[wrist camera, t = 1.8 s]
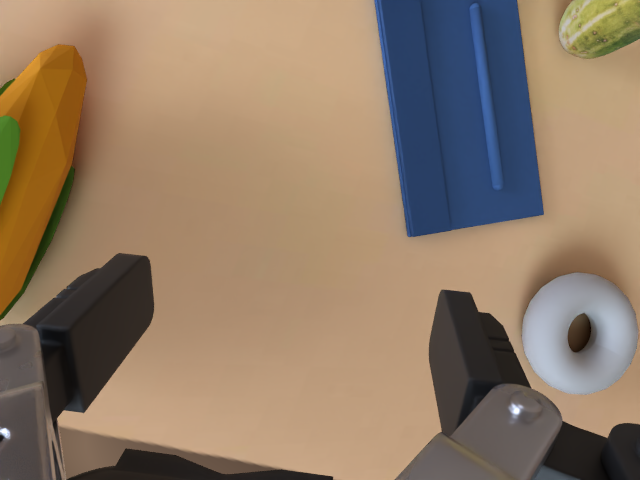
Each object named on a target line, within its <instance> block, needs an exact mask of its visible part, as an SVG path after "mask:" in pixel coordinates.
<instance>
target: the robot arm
mask: <svg viewBox="0 0 640 480" xmlns="http://www.w3.org/2000/svg"><path fill="white" fill-rule="evenodd" d="M153 313H154V298H153V287H152V276H151V265H150V261H149V259H148V257H147V256H141V255H132V254H123V253H118V254H117V255H115V256H114V257H113V258H112V259H111V260H110V261H108V262H107V263H106V264H105V265H104V266H103V267H102V268H100V269H99V268H97V269H94V270H92V271H90V272H88V273H86V274H83V275H81V276H79V277H78V278H77V279H76V280H74V281H73V282H72V283H71V284H70V285H68V286H67V289H64V290H63V291H61V292H60V293H59V294H58V295H57V297H56V298H53V299H52V300H51V301H49V302H48V303H47V304H46V305H45V306H44V307H42V308H41V309H40V310H39V311H38V312H36V313H35V314H34V315H33V316H32V317H31V318H29V319H28V320H27V321H26V322H25V323H23V324H8V325H2V326H0V480H66V474H65V467H64V459H63V452H62V445H61V438H60V431H59V425H58V420H57V418H58V416H59V415H60V414H61V413H62V411H63V410H66V411H74V412H82V413H84V412H85V411H86V410H87V408H88V407H89V406H90V404H91V403H92V402H93V400H94V399H95V398H96V396H97V395H98V394H99V392H100V391H101V390H102V388H103V387H104V386H105V384H106V383H107V382H108V380H109V379H110V378H111V376H112V375H113V374H114V372H115V371H116V370H117V368H118V367H119V366H120V364H121V363H122V362H123V360H124V359H125V358H126V356H127V355H128V354H129V352H130V351H131V350H132V348H133V347H134V346H135V344H136V343H137V342H138V340H139V339H140V338H141V336H142V335H143V334H144V332H145V331H146V329H147V328H148V327H149V325H150V323H151V320H152V317H153ZM429 363H430V368H431V374H432V379H433V385H434V390H435V396H436V401H437V406H438V412H439V417H440V423H441V428H442V432H440V433H438V434H437V435H436V436H435V437H434V438H433V439H432V440H431V441H430V442H429V443H428V444H427V445H426V446H425V447H424V448H423V450H422V451H421V452H420V453H419V454H418V455H417V456H416V457H415V458H414V459H413V460H412V461H411V463H410V464H409V465H408V466H407V467H406V468H405V469H404V470H403V471H402V472H401V473H400V475H399V476H398V477H397V478H396V479H395V480H640V425H639V424H632V423H623V424H619V425H616V426H615V427H614V428H612V430H611V432H610V434H609V436H608V438H606V437H603V436H600V435H597V434H594V433H592V432H589V431H586V430H583V429H580V428H577V427H575V426H572V425H570V424H568V423H566V422H564V421H562V416H561V413H560V411H559V410H558V408H557V407H556V406H555V404H554V403H553V402H552V401H551V400H549V399H548V398H547V397H546V396H544V395H543V394H541V393H539V392H538V391H536V390H534V389H531V386H530V384H529V382H528V380H527V378H526V376H525V373H524V371H523V369H522V367H521V365H520V362H519V360H518V358H517V356H516V354H515V353H514V349H513V347H512V345H511V343H510V342H509V338H508V336H507V334H506V332H505V329H504V327H503V325H502V324H500V323H499V322H498V321H497V320H496V319H495V318H494V317H493V316H492V315H491V314H490V313H482V312H478V310H477V307H476V305H475V302H474V300H473V297H472V295H471V293H469V292H460V291H451V290H441V292H440V294H439V297H438V302H437V307H436V312H435V316H434V321H433V326H432V331H431V336H430V342H429ZM67 480H333V477H332V476H325V475H317V474H310V473H303V472H295V471H288V470H271V471H260V472H250V473H239V474H221V473H218V472H216V471H213V470H211V469H208V468H206V467H203V466H201V465H198V464H196V463H193V462H191V461H188V460H186V459H184V458H181V457H179V456H176V455H169V454H162V453H155V452H148V451H141V450H132V449H125V451H124V452H123V454H122V456H121V457H120V459H119V461H118V463H117V464H116V466H109V467H104V468H99V469H95V470H91V471H88V472H84V473H82V474H79V475H76V476H74V477H71V478H69V479H67Z"/></svg>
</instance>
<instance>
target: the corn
mask: <svg viewBox="0 0 640 480" xmlns="http://www.w3.org/2000/svg"><path fill="white" fill-rule="evenodd" d="M86 82H87V78H86V73H85V69H84V65H83V61H82V58H81V56H80V55H79V53H78V51H77V50H76V48H75V47H74V46H69V45H59V44H58V45H56V46H54V47H52V48H49V49H47V50H45V51H43V52H41V53H39V54H38V56H37V57H36V58H35V59H34V60H33V61H32V62H31V63H30V64H29V65H28V66H27V68H26V69H25V70H24V71H23V72H22V73H21V74H20V75H19V76H18V77H17V78H16V79H13V80H11V81H9V82H7V83H6V84H5V85H4V86H3V87H2V88H1V89H0V320H1V319H3V318H4V317H5V315H6V314H7V313H8V312H9V311H10V309H11V308H12V307H13V306H14V304H15V303H16V302H17V301H18V300H19V298H20V297H21V296H22V295H23V293H24V291H25V290H26V288H27V286H28V284H29V282H30V280H31V278H32V276H33V275H34V273H35V271H36V269H37V267H38V265H39V263H40V261H41V260H42V258H43V256H44V254H45V252H46V250H47V248H48V246H49V244H50V243H51V241H52V238H53V236H54V233H55V231H56V228H57V226H58V223H59V220H60V218H61V215H62V213H63V210H64V208H65V205H66V202H67V200H68V196H69V193H70V189H71V186H72V183H73V179H74V171H75V169H74V168H73V167H72V166H71V165H72V160H73V155H74V149H75V144H76V138H77V132H78V127H79V121H80V116H81V110H82V105H83V99H84V93H85V88H86Z"/></svg>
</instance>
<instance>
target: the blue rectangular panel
mask: <svg viewBox="0 0 640 480" xmlns="http://www.w3.org/2000/svg"><path fill="white" fill-rule="evenodd" d="M375 7H376V14H377V21H378V29H379V36H380V43H381V50H382V57H383V64H384V71H385V78H386V85H387V93H388V100H389V107H390V114H391V121H392V128H393V135H394V142H395V149H396V156H397V164H398V171H399V178H400V185H401V192H402V199H403V206H404V213H405V220H406V228H407V235H408V237H415V236H421V235H427V234H433V233H439V232H445V231H451V230H454V229H460V228H467V227H473V226H479V225H485V224H491V223H497V222H503V221H509V220H515V219H521V218H527V217H533V216H539V215H544V211H543V203H542V195H541V188H540V180H539V172H538V164H537V156H536V148H535V140H534V132H533V124H532V116H531V108H530V100H529V92H528V84H527V77H526V69H525V61H524V53H523V45H522V37H521V29H520V21H519V13H518V5H517V0H375Z"/></svg>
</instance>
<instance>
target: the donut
mask: <svg viewBox="0 0 640 480" xmlns="http://www.w3.org/2000/svg"><path fill="white" fill-rule="evenodd" d="M582 313H585V314H586V315H587V316H588V318H589V320H590V323H591V336H590V339H589V341H588V343H587V345H586V346H585V347H584V348H583V349H582V350H581V351H579V352H576V353H574V352H573V351H572V350H571V349H570V347H569V344H568V338H567V337H568V330H569V327H570V325H571V322H572V321H573V320H574V319H575V317H576V316H578V315H579V314H582ZM637 340H638V326H637V320H636V314H635V311H634V309H633V307H632V305H631V303H630V301H629V299H628V297H627V296H626V295H625V294H624V293H623V292H622V291H621V290H620V289H619V288H618V287H617V286H616V285H615V284H614V283H612V282H610V281H608V280H607V279H605V278H603V277H601V276H598V275H595V274H588V273H579V272H577V273H571V274H567V275H563V276H559V277H557V278H555V279H554V280H552V281H551V282H549V283H548V284H546V285H545V286H543V287H542V288H540V290H539V291H538V292H537V293H536V295H535V296H534V297H533V298H532V300H531V301H530V303H529V305H528V308H527V310H526V313H525V315H524V318H523V327H522V341H523V347H524V352H525V355H526V357H527V359H528V361H529V363H530V365H531V366H532V368H533V370H534V372H535V373H536V374H537V375H538V376H539V377H540V378H541V379H542V380H544V381H545V382H546V383H547V384H548V385H549V386H551V387H554V388H556V389H558V390H560V391H563V392H565V393H569V394H584V395H587V394H591V393H594V392H598V391H601V390H604V389H607V388H608V387H609V386H611V385H612V384H613V383H615V382H616V381H617V380H619V379H620V378H621V376H622V375H623V374H624V372H625V371H626V370H627V368H628V367H629V366H630V364H631V362H632V359H633V357H634V354H635V351H636V349H637Z"/></svg>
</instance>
